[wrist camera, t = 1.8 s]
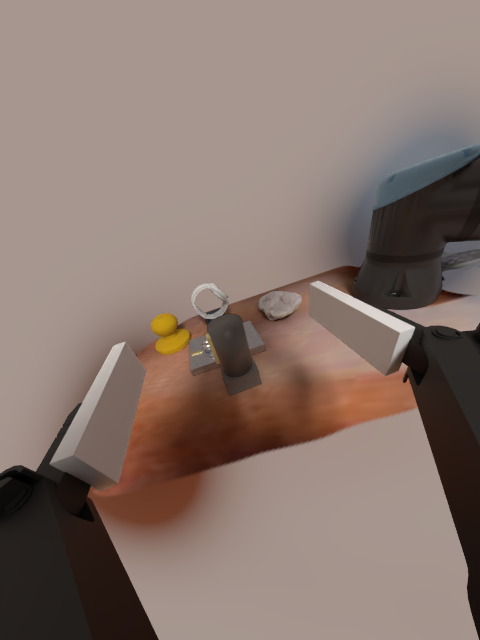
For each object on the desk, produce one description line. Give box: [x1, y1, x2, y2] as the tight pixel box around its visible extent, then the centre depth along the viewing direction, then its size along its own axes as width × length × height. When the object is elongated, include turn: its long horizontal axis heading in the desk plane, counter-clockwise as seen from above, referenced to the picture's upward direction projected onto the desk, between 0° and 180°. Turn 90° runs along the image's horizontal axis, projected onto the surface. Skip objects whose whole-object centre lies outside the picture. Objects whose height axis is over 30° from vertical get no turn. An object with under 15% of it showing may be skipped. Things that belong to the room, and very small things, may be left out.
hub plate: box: [189, 320, 266, 376], centre depth 36 cm, size 14×9×4 cm, turn 105°
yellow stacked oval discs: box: [151, 313, 191, 355], centre depth 41 cm, size 8×8×8 cm
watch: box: [191, 283, 228, 326], centre depth 41 cm, size 6×8×11 cm
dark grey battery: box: [206, 314, 261, 396], centre depth 27 cm, size 5×5×11 cm
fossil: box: [258, 291, 302, 321], centre depth 43 cm, size 9×6×10 cm
